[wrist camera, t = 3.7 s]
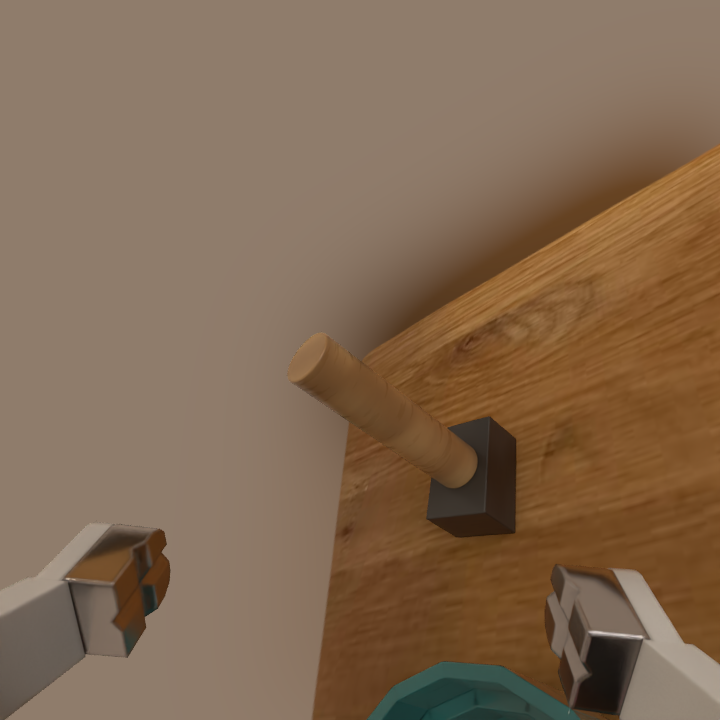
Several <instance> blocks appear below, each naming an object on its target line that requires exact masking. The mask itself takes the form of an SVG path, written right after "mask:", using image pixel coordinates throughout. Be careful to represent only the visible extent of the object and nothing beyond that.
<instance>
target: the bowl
mask: <svg viewBox="0 0 720 720" xmlns="http://www.w3.org/2000/svg"><path fill="white" fill-rule="evenodd" d="M367 720H609V719H607V718H606V717H604V716H602V715H601V714H599V713H597V712H591V711H584V710H577V709H570V708H569V705H568V702H567V699H566V696H565V693H564V692H562V691H561V690H559V689H556V688H554V687H552V686H549V685H547V684H544V683H542V682H540V681H537V680H535V679H532V678H530V677H528V676H525V675H523V674H521V673H518V672H516V671H513V670H511V669H509V668H506V667H504V666H501V665H488V664H474V663H461V662H448V661H443V662H440V663H438V664H436V665H434V666H432V667H430V668H428V669H426V670H424V671H422V672H420V673H418V674H416V675H414V676H412V677H410V678H408V679H406V680H404V681H402V682H400V683H398V684H396V685H394V686H393V687H392V688H391V689H390V691H389V692H388V693H387V694H386V696H385V697H384V698H383V699H382V701H381V702H380V703H379V704H378V706H377V707H376V708H375V710H374V711H373V712H372V713H371V715H370V716H369V717H368V718H367Z"/></svg>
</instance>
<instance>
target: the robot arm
mask: <svg viewBox="0 0 720 720" xmlns="http://www.w3.org/2000/svg"><path fill="white" fill-rule="evenodd" d="M166 545H167V543H166V538H165V533H164V531H162V530H160V529H157V528H148V527H140V526H131V525H122V524H109V523H101V522H93V523H91V524H88V525H87V526H86V527H85V528H84V529H83V530H82V531H81V532H80V533H79V534H78V535H77V536H76V537H75V538H74V539H73V540H72V541H71V542H70V543H69V544H68V545H67V546H66V547H65V548H64V549H63V550H62V551H61V552H60V553H59V554H58V555H57V556H56V557H55V558H54V559H53V560H52V561H51V562H50V563H49V564H48V565H47V566H46V567H45V568H44V569H43V570H42V571H41V572H40V573H39V574H38V575H37V576H36V577H35V578H30V577H29V578H25V579H23V580H21V581H19V582H17V583H15V584H13V585H11V586H9V587H7V588H5V589H2V590H0V720H5V719H6V718H7V717H9V716H10V715H11V714H12V713H14V712H15V711H16V710H18V709H19V708H20V707H22V706H23V705H24V704H25V703H27V702H28V701H29V700H30V699H32V698H33V697H34V696H36V695H37V694H38V693H40V692H41V691H42V690H43V689H45V688H46V687H47V686H49V685H50V684H51V683H52V682H54V681H55V680H56V679H57V678H59V677H60V676H61V675H63V674H64V673H65V672H66V671H68V670H69V669H70V668H72V667H73V666H74V665H75V664H77V663H78V662H79V661H81V660H82V659H83V658H84V657H85V654H90V655H102V656H115V657H128V656H129V654H130V653H131V651H132V650H133V648H134V646H135V645H136V643H137V641H138V640H139V638H140V636H141V635H142V633H143V632H144V630H145V629H146V623H145V616H147V615H149V614H150V613H152V612H153V611H155V610H156V609H158V607H159V605H160V604H161V602H162V600H163V598H164V597H165V594H166V591H167V588H168V585H169V581H170V564H169V560H168V559H167V558H166V557H165V556H164V555H163V554H162V550H163V549H164V547H165V546H166ZM550 580H551V583H552V585H553V588H554V592H552V593H551V594H550V595H549V596H548V597H547V599H546V606H545V628H546V633H547V638H548V642H549V645H550V648H551V650H552V651H553V652H554V653H555V654H556V655H557V656H558V657H559V658H560V659H561V661H560V665H559V670H558V674H559V677H560V680H561V683H562V686H563V689H564V693H565V696H566V699H567V702H568V705H569V708H570V709H577V710H584V711H591V712H598V713H605V714H612V715H618V716H620V717H619V719H620V720H720V664H719V663H717V662H716V661H715V660H713V659H712V658H711V657H709V656H708V655H706V654H705V653H704V652H702V651H701V650H700V649H698V648H697V647H696V646H694V645H692V644H684V642H683V640H682V639H681V637H680V636H679V634H678V632H677V631H676V629H675V628H674V626H673V624H672V623H671V621H670V620H669V618H668V616H667V615H666V613H665V612H664V610H663V608H662V607H661V605H660V604H659V602H658V600H657V599H656V597H655V596H654V594H653V592H652V591H651V589H650V588H649V586H648V585H647V583H646V581H645V580H644V578H643V577H642V575H641V574H640V573H639V572H638V571H636V570H631V569H617V568H608V569H607V568H598V567H586V566H574V565H562V564H556V565H555V566H554V568H553V570H552V575H551V579H550Z"/></svg>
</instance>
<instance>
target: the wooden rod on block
mask: <svg viewBox="0 0 720 720" xmlns="http://www.w3.org/2000/svg"><path fill="white" fill-rule="evenodd" d="M287 376H288V379H289V381H290V382H291V383H293V384H294V385H296V386H297V387H299V388H300V389H302V390H303V391H305V392H306V393H308V394H309V395H311V396H312V397H314V398H315V399H317V400H318V401H320V402H321V403H322V404H324V405H325V406H327V407H329V408H330V409H331V410H333V411H334V412H336V413H337V414H339V415H340V416H342V417H343V418H345V419H346V420H348V421H349V422H351V423H352V424H354V425H355V426H356V427H358V428H359V429H361V430H362V431H364V432H365V433H367V434H368V435H370V436H371V437H373V438H374V439H376V440H377V441H379V442H380V443H382V444H383V445H385V446H386V447H388V448H389V449H391V450H392V451H393V452H395V453H396V454H398V455H399V456H401V457H402V458H404V459H405V460H407V461H408V462H410V463H411V464H413V465H414V466H416V467H417V468H419V469H420V470H422V471H423V472H425V473H426V474H427V475H429V476H430V477H431V485H430V493H429V501H428V510H427V520H429V521H430V522H432V523H434V524H435V525H437V526H439V527H440V528H442V529H444V530H445V531H447V532H449V533H450V534H452V535H454V536H455V537H466V536H479V535H492V534H505V533H515V469H516V439H515V438H514V437H513V436H512V435H511V434H510V433H508V432H507V431H506V430H505V429H504V428H503V427H501V426H500V425H499V424H498V423H497V422H496V421H494V420H493V419H492V418H491V417H485V418H481V419H477V420H474V421H470V422H466V423H463V424H459V425H455V426H451V427H448V428H446V427H445V426H444V425H442V424H441V423H440V422H439V421H437V420H436V419H435V418H433V417H432V416H431V415H430V414H428V413H427V412H426V411H424V410H423V409H422V408H421V407H419V406H418V405H417V404H415V403H414V402H413V401H412V400H410V399H409V398H408V397H406V396H405V395H404V394H402V393H401V392H400V391H399V390H397V389H396V388H395V387H393V386H392V385H391V384H390V383H388V382H387V381H386V380H384V379H383V378H382V377H381V376H379V375H378V374H377V373H375V372H374V371H373V370H372V369H370V368H369V367H368V366H366V365H365V364H364V363H363V362H361V361H360V360H359V359H357V358H356V357H355V356H353V355H352V354H351V353H350V352H348V351H347V350H346V349H344V348H343V347H342V346H341V345H339V344H338V343H337V342H335V341H334V340H333V339H331V338H330V337H329V336H328V335H326V334H325V333H317V334H315V335H313V336H312V337H310V338H309V339H308V340H307V341H306V342H305V343H304V344H303V345H302V346H301V347H300V349H298V351H297V352H296V354H295V355H294V357H293V359H292V361H291V363H290V365H289V368H288V373H287Z"/></svg>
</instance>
